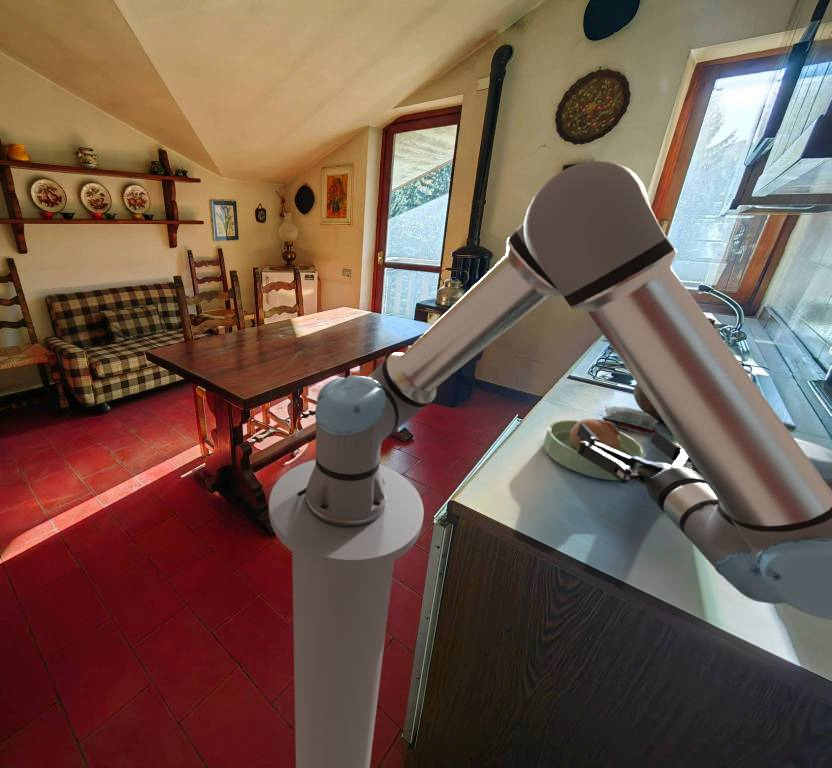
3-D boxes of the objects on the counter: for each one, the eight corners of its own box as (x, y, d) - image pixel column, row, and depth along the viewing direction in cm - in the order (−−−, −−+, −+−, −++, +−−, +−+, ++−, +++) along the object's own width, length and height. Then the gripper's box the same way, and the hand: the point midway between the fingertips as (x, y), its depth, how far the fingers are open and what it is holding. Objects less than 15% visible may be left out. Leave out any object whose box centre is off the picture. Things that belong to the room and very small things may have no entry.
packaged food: (602, 414, 110) (607, 398, 108) (656, 427, 103) (662, 411, 101) (599, 426, 103) (604, 409, 101) (655, 441, 96) (662, 423, 95)
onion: (601, 466, 90) (636, 435, 86) (593, 473, 83) (630, 439, 79) (564, 438, 95) (595, 407, 91) (554, 441, 88) (587, 408, 84)
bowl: (580, 485, 80) (587, 464, 78) (526, 439, 96) (531, 421, 94) (659, 479, 82) (668, 459, 80) (593, 436, 98) (599, 418, 96)
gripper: (593, 509, 63) (546, 442, 82) (773, 531, 59) (679, 455, 78) (607, 471, 60) (555, 410, 79) (797, 491, 56) (694, 422, 75)
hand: (617, 432), depth 78 cm, fingers open, 13 cm apart
